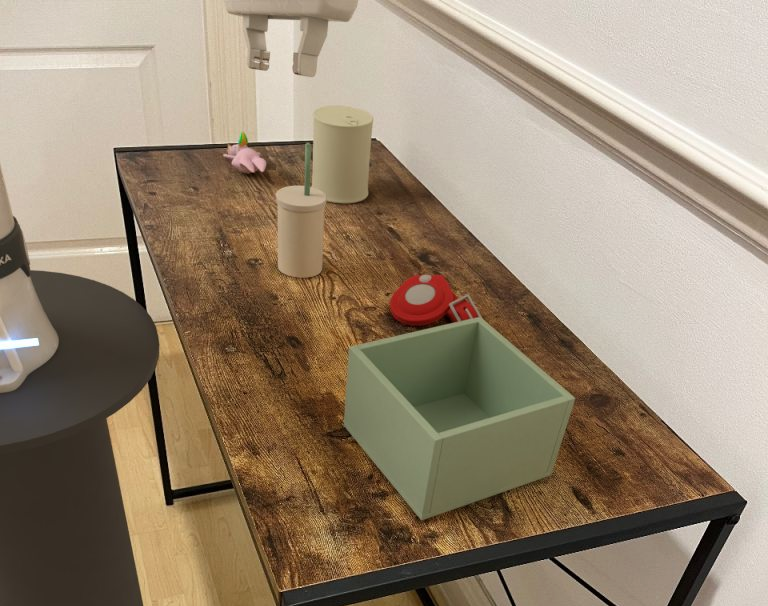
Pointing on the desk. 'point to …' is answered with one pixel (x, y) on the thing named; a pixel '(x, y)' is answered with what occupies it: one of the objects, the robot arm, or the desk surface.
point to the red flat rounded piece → (429, 302)
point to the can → (341, 153)
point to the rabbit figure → (245, 156)
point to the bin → (454, 414)
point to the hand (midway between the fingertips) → (279, 72)
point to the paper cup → (301, 227)
